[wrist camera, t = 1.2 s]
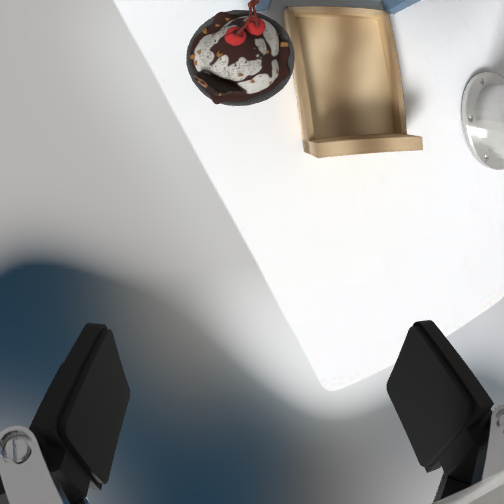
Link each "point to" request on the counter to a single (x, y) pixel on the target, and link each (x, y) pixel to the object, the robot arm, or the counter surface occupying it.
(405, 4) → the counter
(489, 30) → the counter surface
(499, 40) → the counter surface
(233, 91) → the sundae
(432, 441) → the robot arm
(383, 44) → the tray
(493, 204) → the counter surface
